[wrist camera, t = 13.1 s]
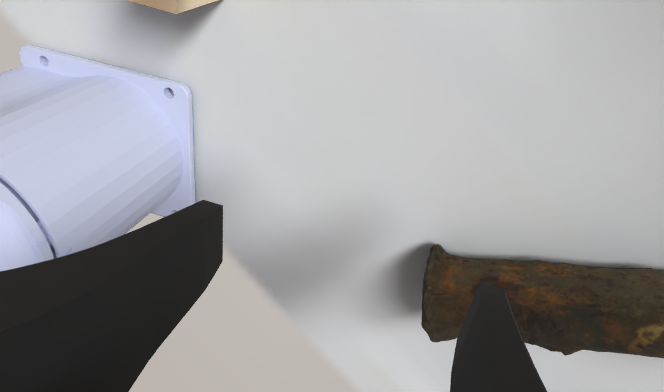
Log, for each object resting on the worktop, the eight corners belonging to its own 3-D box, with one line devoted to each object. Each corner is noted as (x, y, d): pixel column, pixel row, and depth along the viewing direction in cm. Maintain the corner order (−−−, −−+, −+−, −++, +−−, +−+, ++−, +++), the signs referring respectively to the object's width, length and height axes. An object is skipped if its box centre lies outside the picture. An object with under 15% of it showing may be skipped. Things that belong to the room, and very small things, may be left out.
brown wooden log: (429, 295, 25) (416, 366, 21) (428, 231, 23) (413, 297, 19) (909, 352, 19) (1008, 462, 16) (964, 273, 17) (1091, 378, 14)
